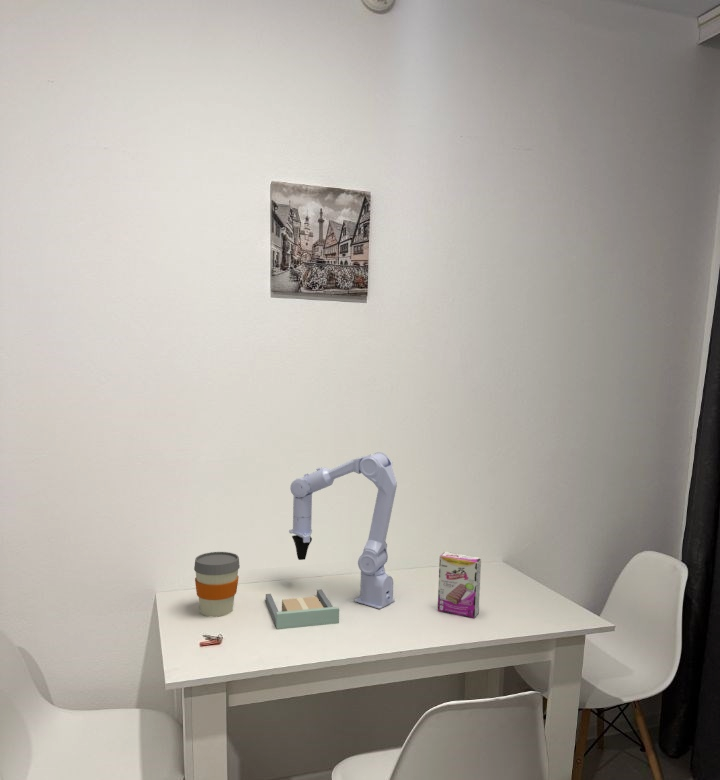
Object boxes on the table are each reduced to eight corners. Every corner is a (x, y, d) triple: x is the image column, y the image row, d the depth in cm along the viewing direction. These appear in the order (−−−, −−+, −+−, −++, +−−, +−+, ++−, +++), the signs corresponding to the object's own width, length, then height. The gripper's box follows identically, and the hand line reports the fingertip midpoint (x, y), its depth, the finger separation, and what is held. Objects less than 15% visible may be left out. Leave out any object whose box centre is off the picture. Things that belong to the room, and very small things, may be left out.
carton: (281, 613, 180) (281, 599, 180) (316, 610, 183) (316, 596, 183) (287, 626, 172) (287, 611, 172) (323, 622, 175) (324, 608, 175)
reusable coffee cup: (200, 601, 187) (201, 550, 186) (243, 602, 187) (243, 552, 186) (187, 618, 174) (188, 564, 174) (233, 620, 174) (234, 566, 173)
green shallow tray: (265, 600, 189) (265, 587, 188) (321, 595, 194) (321, 582, 193) (276, 629, 169) (277, 614, 169) (338, 622, 174) (339, 608, 174)
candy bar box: (436, 611, 183) (438, 555, 183) (442, 605, 188) (443, 551, 187) (475, 619, 179) (477, 561, 178) (479, 613, 183) (481, 556, 182)
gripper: (285, 511, 204) (284, 552, 204) (294, 522, 190) (293, 567, 190) (307, 510, 206) (306, 551, 206) (317, 521, 192) (316, 565, 192)
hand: (301, 559), depth 199 cm, fingers closed
